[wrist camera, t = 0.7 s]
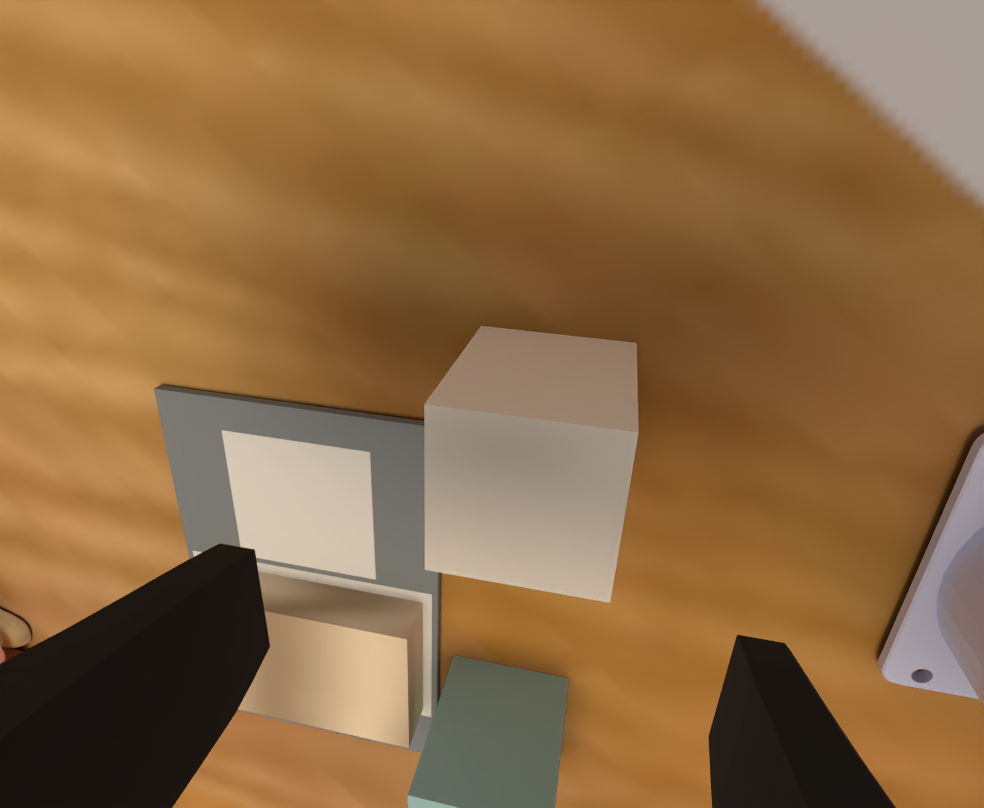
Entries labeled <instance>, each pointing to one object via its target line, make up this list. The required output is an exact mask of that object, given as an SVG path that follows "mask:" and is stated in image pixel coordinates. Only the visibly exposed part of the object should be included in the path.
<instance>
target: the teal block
mask: <svg viewBox="0 0 984 808" xmlns="http://www.w3.org/2000/svg"><path fill="white" fill-rule="evenodd" d="M568 685H569V678H565V677H560V676H555V675H550V674H545V673H540V672H535V671H530V670H525V669H520V668H515V667H510V666H505V665H500V664H495V663H490V662H485V661H480V660H475V659H470V658H465V657H460V656H455V655H454V657H453V660H452V663H451V666H450V669H449V672H448V675H447V678H446V681H445V684H444V687H443V690H442V693H441V696H440V699H439V702H438V705H437V708H436V711H435V714H434V717H433V720H432V723H431V726H430V730H429V733H428V736H427V739H426V742H425V745H424V748H423V751H422V754H421V757H420V760H419V763H418V766H417V769H416V772H415V775H414V778H413V781H412V784H411V787H410V790H409V793H408V808H555V802H556V793H557V784H558V775H559V766H560V757H561V748H562V739H563V730H564V721H565V712H566V703H567V694H568Z"/></svg>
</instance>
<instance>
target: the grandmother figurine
mask: <svg viewBox="0 0 984 808" xmlns="http://www.w3.org/2000/svg"><path fill="white" fill-rule="evenodd" d="M30 640H31V633H30V629H29V627H28V626H27V624H26V623H25V622H24V621H23V620H21V619H20V618H18V617H16V616H14V615H13V614H11V613H8V612H6V611H4V610H2V609H0V664H1V663H2V662H4V661H6V660H8V659H10V658H12V657H14V656H16V655H18V654H20V653H22V652H23V651H20V650H16V649H12V648H16V647H20V646H23V645H25V644H27V643H29V642H30Z"/></svg>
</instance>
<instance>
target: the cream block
mask: <svg viewBox="0 0 984 808" xmlns="http://www.w3.org/2000/svg"><path fill="white" fill-rule="evenodd" d="M638 433H639V426H638V382H637V343H634V342H624V341H615V340H606V339H597V338H588V337H579V336H569V335H560V334H551V333H542V332H533V331H524V330H514V329H505V328H496V327H487V326H481V327H480V328H479V329H478V331H477V332H476V334H475V335H474V336H473V338H472V339H471V341H470V342H469V343H468V345H467V346H466V347H465V349H464V350H463V352H462V353H461V354H460V356H459V357H458V358H457V360H456V361H455V363H454V364H453V365H452V367H451V368H450V370H449V371H448V372H447V374H446V375H445V376H444V378H443V379H442V381H441V382H440V383H439V385H438V386H437V387H436V389H435V390H434V392H433V393H432V394H431V396H430V397H429V399H428V400H427V401H426V403H425V404H424V470H425V570H429V571H434V572H440V573H446V574H451V575H457V576H462V577H468V578H474V579H479V580H485V581H491V582H496V583H502V584H507V585H513V586H519V587H524V588H530V589H535V590H541V591H547V592H552V593H558V594H564V595H569V596H575V597H580V598H586V599H592V600H597V601H603V602H609V603H610V600H611V594H612V588H613V582H614V576H615V571H616V565H617V559H618V553H619V547H620V541H621V535H622V529H623V523H624V517H625V511H626V505H627V499H628V493H629V487H630V481H631V475H632V469H633V463H634V457H635V451H636V445H637V439H638Z"/></svg>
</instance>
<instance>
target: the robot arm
mask: <svg viewBox="0 0 984 808" xmlns="http://www.w3.org/2000/svg"><path fill="white" fill-rule="evenodd" d="M269 648H270V642H269V636H268V629H267V623H266V617H265V611H264V604H263V598H262V592H261V585H260V579H259V573H258V567H257V560H256V554H255V549H249V548H243V547H238V546H232V545H226V544H221V543H219V544H218V545H216V546H214V547H212V548H210V549H208V550H206V551H204V552H202V553H200V554H198V555H196V556H195V557H193V558H191V559H189V560H187V561H186V562H184V563H182V564H180V565H178V566H177V567H175V568H173V569H171V570H170V571H168V572H166V573H164V574H163V575H161V576H159V577H157V578H156V579H154V580H152V581H150V582H149V583H147V584H145V585H143V586H142V587H140V588H138V589H136V590H135V591H133V592H131V593H129V594H128V595H126V596H124V597H122V598H120V599H119V600H117V601H115V602H113V603H112V604H110V605H108V606H106V607H104V608H103V609H101V610H99V611H97V612H96V613H94V614H92V615H90V616H88V617H87V618H85V619H83V620H81V621H80V622H78V623H76V624H74V625H73V626H71V627H69V628H67V629H65V630H63V631H62V632H60V633H58V634H56V635H54V636H52V637H50V638H48V639H46V640H44V641H42V642H41V643H39V644H37V645H35V646H33V647H31V648H29V649H27V650H25V651H23V652H22V653H20V654H18V655H16V656H14V657H12V658H10V659H8V660H6V661H4V662H2V663H1V664H0V808H172V807H173V806H174V804H175V803H176V801H177V800H178V798H179V797H180V795H181V794H182V792H183V791H184V789H185V788H186V786H187V785H188V783H189V782H190V780H191V779H192V777H193V776H194V775H195V773H196V772H197V770H198V769H199V767H200V766H201V764H202V763H203V761H204V760H205V758H206V757H207V755H208V754H209V752H210V751H211V749H212V748H213V746H214V745H215V743H216V742H217V740H218V739H219V737H220V736H221V734H222V733H223V731H224V730H225V728H226V727H227V725H228V724H229V722H230V721H231V719H232V717H233V716H234V714H235V713H236V711H237V710H238V708H239V706H240V704H241V702H242V701H243V699H244V697H245V695H246V693H247V691H248V689H249V687H250V686H251V684H252V682H253V680H254V678H255V676H256V674H257V672H258V670H259V668H260V666H261V664H262V662H263V660H264V658H265V656H266V654H267V652H268V650H269ZM878 666H879V668H880V670H881V672H882V674H883V677H884V678H885V679H886V680H888V681H889V682H892V683H895V684H900V685H905V686H910V687H916V688H921V689H927V690H932V691H937V692H943V693H948V694H954V695H959V696H964V697H970V698H975V699H980V701H981V703H982V704H983V706H984V433H983V434H982V435H980V436H979V437H977V439H976V440H975V441H974V443H973V444H972V446H971V449H970V451H969V453H968V456H967V458H966V460H965V462H964V465H963V467H962V469H961V472H960V474H959V476H958V478H957V481H956V483H955V485H954V488H953V490H952V492H951V494H950V497H949V499H948V501H947V504H946V506H945V508H944V511H943V513H942V515H941V517H940V520H939V522H938V524H937V527H936V529H935V531H934V533H933V536H932V538H931V540H930V543H929V545H928V547H927V549H926V552H925V554H924V556H923V559H922V561H921V563H920V565H919V568H918V570H917V572H916V575H915V577H914V579H913V582H912V584H911V586H910V588H909V591H908V593H907V595H906V598H905V600H904V602H903V604H902V607H901V609H900V611H899V614H898V616H897V618H896V620H895V623H894V625H893V627H892V630H891V632H890V634H889V636H888V639H887V641H886V643H885V646H884V648H883V650H882V653H881V655H880V657H879V660H878ZM919 669H924V670H922V671H919V672H914V671H916V670H919ZM709 753H710V775H711V793H712V808H896V807H895V806H894V804H893V803H892V802H891V800H890V799H889V797H888V796H887V795H886V793H885V792H884V790H883V789H882V787H881V786H880V785H879V783H878V782H877V780H876V779H875V778H874V776H873V775H872V773H871V772H870V771H869V769H868V768H867V766H866V765H865V763H864V762H863V760H862V759H861V757H860V756H859V754H858V753H857V752H856V750H855V749H854V747H853V746H852V744H851V743H850V741H849V740H848V738H847V737H846V735H845V734H844V732H843V731H842V729H841V728H840V726H839V725H838V723H837V722H836V720H835V719H834V717H833V716H832V714H831V713H830V711H829V709H828V708H827V706H826V705H825V703H824V702H823V700H822V699H821V697H820V696H819V694H818V693H817V691H816V689H815V688H814V686H813V685H812V683H811V682H810V680H809V679H808V677H807V675H806V674H805V672H804V671H803V669H802V668H801V666H800V665H799V663H798V661H797V660H796V658H795V657H794V655H793V654H792V652H791V651H790V649H789V648H788V647H787V646H786V644H785V643H780V642H775V641H769V640H764V639H758V638H752V637H747V636H741V635H737V637H736V641H735V644H734V648H733V652H732V655H731V659H730V662H729V666H728V669H727V673H726V676H725V680H724V684H723V687H722V691H721V694H720V698H719V701H718V705H717V709H716V712H715V716H714V719H713V723H712V726H711V730H710V734H709Z"/></svg>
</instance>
